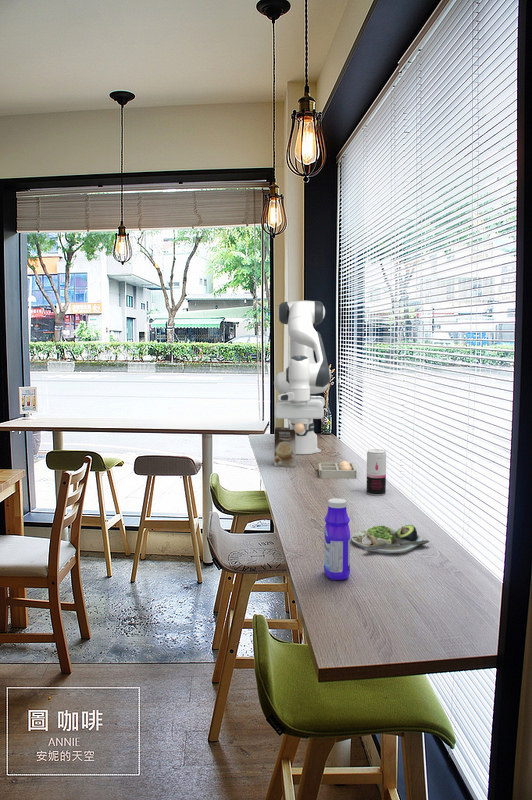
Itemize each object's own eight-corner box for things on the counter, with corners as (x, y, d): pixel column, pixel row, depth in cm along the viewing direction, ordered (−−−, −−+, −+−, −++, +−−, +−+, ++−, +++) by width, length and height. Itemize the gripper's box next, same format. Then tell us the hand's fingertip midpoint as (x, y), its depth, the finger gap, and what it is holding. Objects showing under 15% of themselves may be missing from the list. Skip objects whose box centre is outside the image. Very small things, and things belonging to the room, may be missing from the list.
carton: (318, 471, 232) (318, 462, 232) (353, 471, 232) (353, 463, 231) (319, 479, 219) (319, 470, 218) (356, 480, 218) (356, 470, 217)
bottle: (321, 569, 133) (321, 496, 131) (345, 568, 133) (346, 495, 131) (327, 582, 125) (327, 505, 124) (352, 581, 126) (353, 504, 124)
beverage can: (387, 492, 200) (388, 450, 199) (383, 496, 194) (383, 453, 193) (369, 490, 203) (369, 448, 201) (364, 494, 197) (364, 451, 195)
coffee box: (273, 466, 242) (273, 429, 240) (274, 463, 248) (274, 427, 246) (295, 467, 241) (295, 429, 239) (296, 464, 247) (296, 427, 245)
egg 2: (338, 470, 231) (338, 459, 230) (349, 471, 230) (350, 459, 230) (339, 473, 226) (339, 462, 225) (350, 473, 226) (351, 462, 225)
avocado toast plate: (392, 565, 136) (392, 546, 135) (334, 545, 149) (335, 528, 148) (435, 545, 149) (436, 528, 148) (379, 529, 162) (379, 513, 161)
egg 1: (293, 432, 236) (293, 421, 235) (304, 432, 235) (304, 421, 235) (293, 434, 231) (293, 423, 231) (304, 434, 231) (304, 423, 230)
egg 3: (339, 474, 224) (339, 463, 224) (351, 474, 224) (351, 463, 223) (340, 477, 219) (340, 465, 219) (352, 477, 219) (352, 465, 219)
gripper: (324, 395, 234) (324, 428, 235) (275, 395, 236) (275, 428, 237) (325, 396, 228) (324, 430, 229) (274, 396, 229) (274, 430, 231)
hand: (299, 429), depth 233 cm, fingers closed on egg 1, 5 cm apart
